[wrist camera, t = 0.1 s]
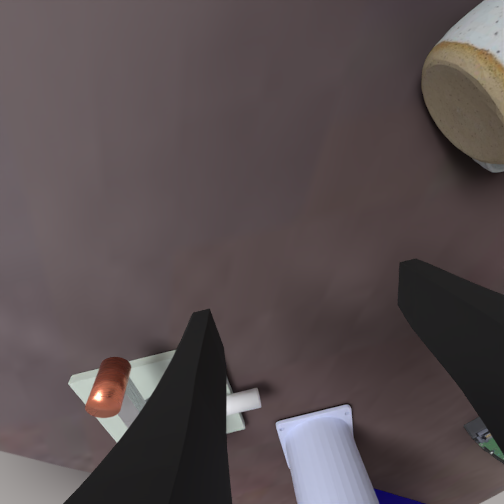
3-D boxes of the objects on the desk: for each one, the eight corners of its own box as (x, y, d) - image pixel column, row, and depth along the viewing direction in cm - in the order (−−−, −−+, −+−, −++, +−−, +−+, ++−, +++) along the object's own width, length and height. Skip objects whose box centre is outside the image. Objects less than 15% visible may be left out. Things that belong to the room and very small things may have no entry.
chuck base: (268, 415, 32) (273, 445, 29) (130, 449, 32) (123, 482, 29) (241, 333, 26) (245, 362, 23) (71, 375, 26) (56, 409, 23)
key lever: (207, 446, 27) (207, 485, 25) (141, 462, 27) (134, 503, 25) (153, 347, 21) (145, 385, 18) (66, 368, 21) (45, 410, 18)
